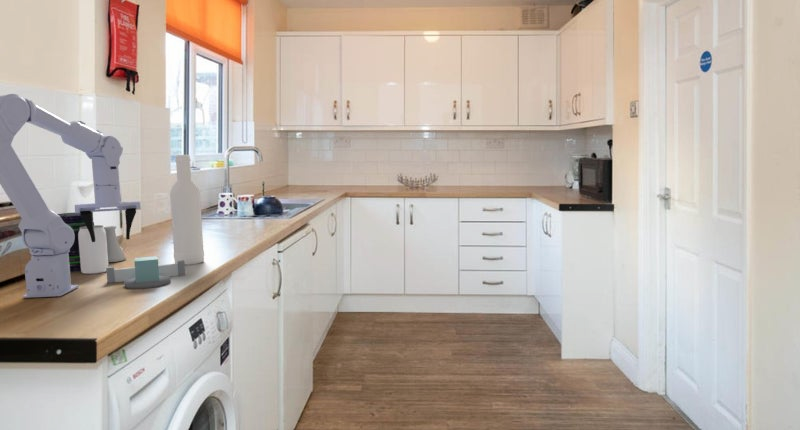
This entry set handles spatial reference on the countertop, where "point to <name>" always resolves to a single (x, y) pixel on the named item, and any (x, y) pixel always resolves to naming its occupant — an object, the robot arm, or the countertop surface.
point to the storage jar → (75, 223)
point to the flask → (113, 245)
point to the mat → (147, 283)
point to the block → (146, 269)
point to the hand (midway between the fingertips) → (110, 240)
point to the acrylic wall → (129, 273)
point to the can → (93, 250)
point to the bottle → (186, 215)
